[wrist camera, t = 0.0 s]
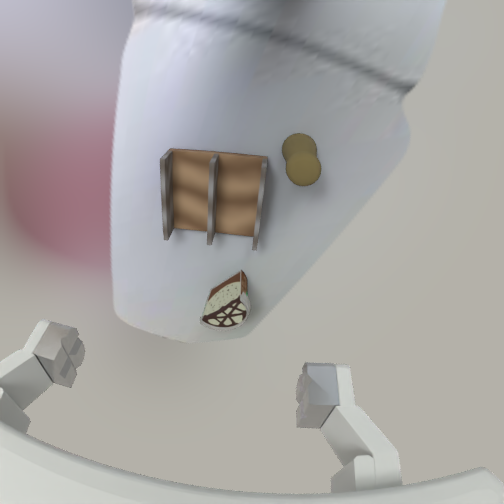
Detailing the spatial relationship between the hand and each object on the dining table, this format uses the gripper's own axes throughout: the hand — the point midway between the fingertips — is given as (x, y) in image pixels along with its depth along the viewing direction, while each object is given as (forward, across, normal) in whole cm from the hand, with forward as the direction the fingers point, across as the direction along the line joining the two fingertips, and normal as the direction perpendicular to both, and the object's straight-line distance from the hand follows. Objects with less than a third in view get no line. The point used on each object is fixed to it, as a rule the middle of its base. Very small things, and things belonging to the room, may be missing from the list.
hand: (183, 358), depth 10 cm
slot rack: (+48, +6, +17) cm, 51 cm away
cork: (+48, -8, +7) cm, 49 cm away
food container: (+48, +1, +40) cm, 63 cm away
